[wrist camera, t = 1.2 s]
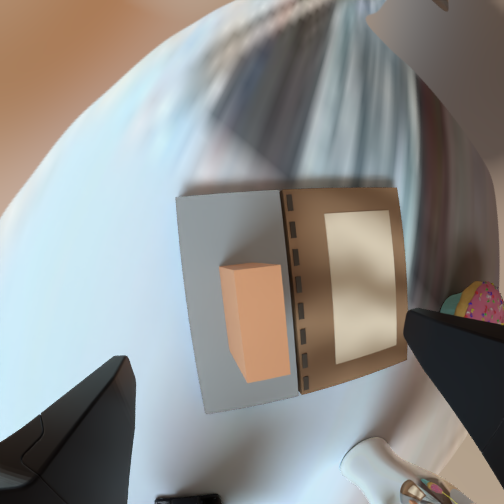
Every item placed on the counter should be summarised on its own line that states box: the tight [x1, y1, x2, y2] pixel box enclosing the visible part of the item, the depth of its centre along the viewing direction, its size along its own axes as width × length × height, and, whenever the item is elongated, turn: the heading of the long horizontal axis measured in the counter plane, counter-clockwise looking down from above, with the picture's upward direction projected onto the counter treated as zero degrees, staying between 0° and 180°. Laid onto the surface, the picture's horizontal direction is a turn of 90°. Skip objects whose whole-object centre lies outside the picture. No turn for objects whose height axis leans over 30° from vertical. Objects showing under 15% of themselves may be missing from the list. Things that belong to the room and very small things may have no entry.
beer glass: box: [340, 437, 476, 504], centre depth 18 cm, size 7×7×15 cm
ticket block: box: [279, 188, 408, 395], centre depth 24 cm, size 16×11×2 cm
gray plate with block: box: [175, 190, 298, 414], centre depth 19 cm, size 16×7×8 cm, turn 6°
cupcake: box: [440, 281, 504, 325], centre depth 22 cm, size 9×8×12 cm
